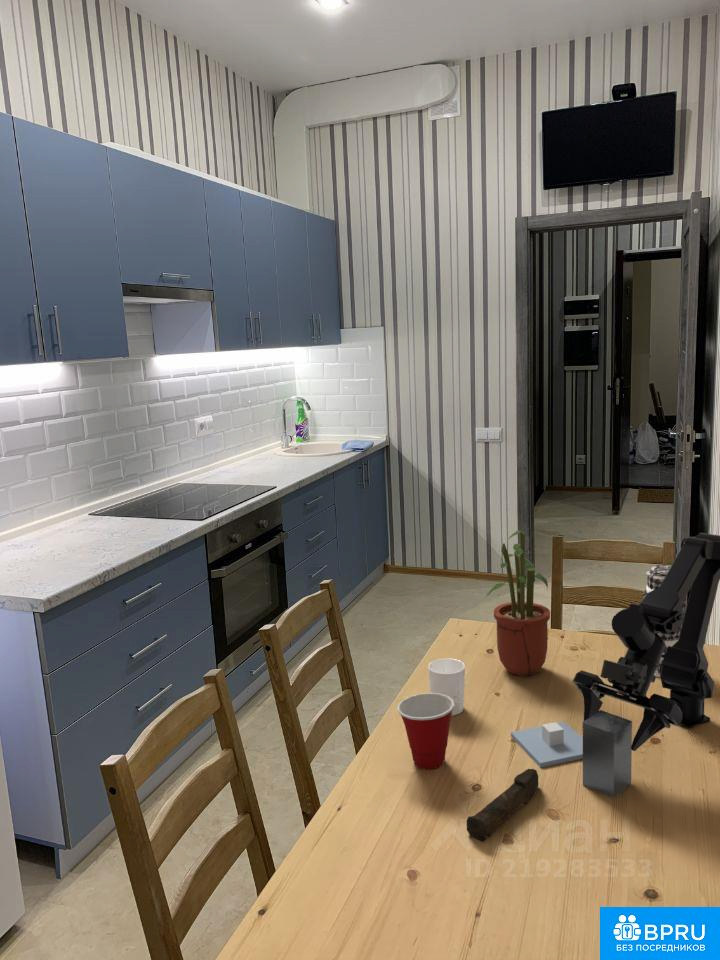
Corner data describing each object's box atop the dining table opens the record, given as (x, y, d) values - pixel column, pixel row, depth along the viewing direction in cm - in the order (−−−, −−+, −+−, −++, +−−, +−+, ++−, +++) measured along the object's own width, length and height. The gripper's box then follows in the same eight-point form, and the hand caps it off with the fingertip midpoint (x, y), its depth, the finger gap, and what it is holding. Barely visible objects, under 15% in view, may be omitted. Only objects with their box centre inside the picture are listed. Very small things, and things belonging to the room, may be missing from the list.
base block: (564, 728, 155) (564, 707, 154) (597, 758, 143) (597, 736, 143) (510, 738, 152) (510, 718, 151) (540, 770, 140) (539, 748, 140)
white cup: (425, 714, 162) (423, 671, 160) (435, 698, 169) (434, 656, 168) (461, 720, 159) (459, 675, 157) (470, 703, 166) (468, 660, 165)
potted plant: (556, 681, 174) (555, 534, 168) (489, 684, 175) (485, 538, 168) (539, 650, 192) (538, 516, 185) (478, 653, 192) (475, 519, 186)
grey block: (600, 770, 138) (600, 709, 136) (631, 783, 134) (632, 721, 132) (582, 784, 134) (582, 722, 132) (613, 798, 130) (614, 734, 128)
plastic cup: (418, 741, 152) (415, 685, 150) (466, 755, 145) (464, 697, 143) (388, 767, 143) (385, 708, 141) (438, 783, 137) (436, 722, 135)
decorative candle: (637, 673, 176) (638, 570, 171) (647, 659, 183) (649, 560, 179) (678, 682, 171) (681, 576, 166) (687, 666, 178) (690, 564, 174)
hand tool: (485, 847, 120) (484, 820, 119) (465, 836, 123) (464, 810, 122) (551, 794, 132) (551, 770, 132) (531, 785, 135) (531, 762, 134)
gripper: (578, 629, 140) (544, 704, 135) (676, 656, 126) (642, 741, 121) (600, 656, 147) (568, 729, 141) (696, 684, 133) (665, 767, 128)
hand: (608, 740), depth 133 cm, fingers open, 9 cm apart
